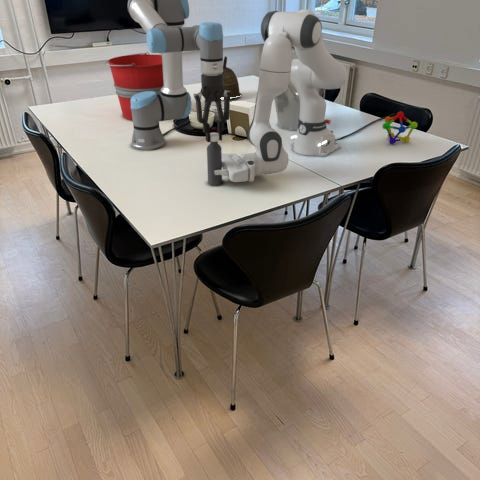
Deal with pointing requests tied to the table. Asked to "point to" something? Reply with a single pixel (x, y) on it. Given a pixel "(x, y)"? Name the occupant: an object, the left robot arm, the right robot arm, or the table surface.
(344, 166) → the table surface
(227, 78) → the bell
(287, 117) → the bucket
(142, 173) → the table surface
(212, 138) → the cap
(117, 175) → the table surface
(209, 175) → the bottle
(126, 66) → the bucket
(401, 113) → the educational toy
